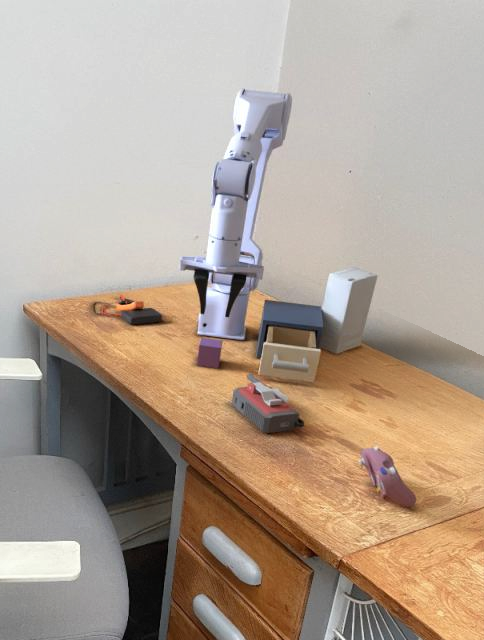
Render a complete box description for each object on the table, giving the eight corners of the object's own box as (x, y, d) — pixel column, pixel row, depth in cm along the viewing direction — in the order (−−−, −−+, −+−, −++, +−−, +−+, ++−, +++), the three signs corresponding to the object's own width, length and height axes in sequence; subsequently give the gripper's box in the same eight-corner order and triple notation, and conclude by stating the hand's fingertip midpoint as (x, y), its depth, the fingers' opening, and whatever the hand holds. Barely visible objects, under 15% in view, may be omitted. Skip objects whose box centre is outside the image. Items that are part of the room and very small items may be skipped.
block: (196, 365, 144) (199, 345, 142) (198, 357, 147) (201, 337, 145) (218, 368, 143) (221, 347, 141) (219, 360, 147) (222, 340, 145)
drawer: (314, 393, 134) (321, 361, 131) (257, 385, 136) (262, 354, 132) (312, 359, 148) (318, 329, 145) (260, 352, 149) (265, 323, 146)
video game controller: (361, 481, 114) (351, 443, 111) (391, 470, 114) (382, 431, 110) (387, 519, 106) (376, 479, 102) (419, 506, 105) (410, 466, 102)
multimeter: (80, 299, 172) (80, 283, 170) (130, 296, 176) (131, 281, 174) (109, 327, 158) (110, 310, 156) (162, 323, 162) (164, 307, 160)
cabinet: (314, 365, 148) (323, 327, 143) (256, 358, 149) (262, 319, 145) (313, 343, 158) (321, 306, 154) (258, 336, 159) (264, 299, 155)
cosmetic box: (337, 338, 161) (353, 265, 153) (361, 347, 158) (379, 273, 150) (311, 345, 157) (327, 271, 149) (336, 355, 153) (353, 279, 145)
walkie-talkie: (314, 432, 124) (252, 381, 139) (320, 406, 121) (256, 358, 137) (266, 438, 121) (208, 386, 136) (271, 412, 118) (211, 362, 134)
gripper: (181, 237, 130) (172, 315, 138) (267, 246, 129) (254, 326, 136) (185, 227, 136) (177, 303, 144) (268, 237, 134) (256, 313, 142)
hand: (215, 314), depth 140 cm, fingers open, 4 cm apart
